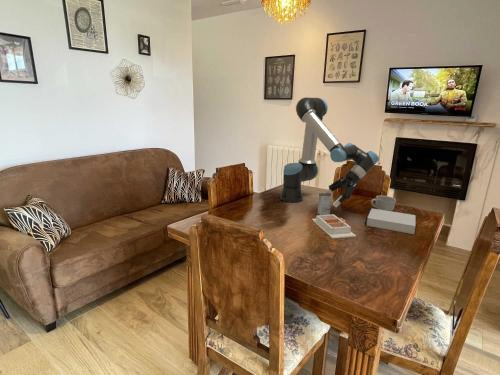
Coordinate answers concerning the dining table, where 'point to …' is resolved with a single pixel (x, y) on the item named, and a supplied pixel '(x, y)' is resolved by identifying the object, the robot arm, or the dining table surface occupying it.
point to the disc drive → (391, 220)
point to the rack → (334, 226)
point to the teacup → (384, 203)
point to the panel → (324, 203)
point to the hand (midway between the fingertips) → (328, 202)
